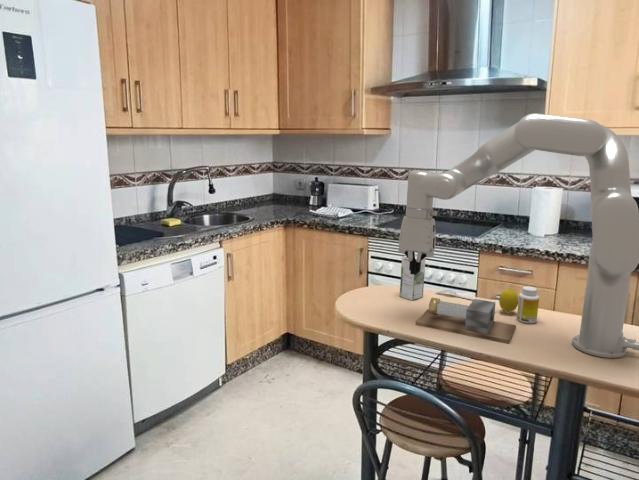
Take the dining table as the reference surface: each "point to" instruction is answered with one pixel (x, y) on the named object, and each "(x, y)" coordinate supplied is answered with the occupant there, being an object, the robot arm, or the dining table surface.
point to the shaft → (447, 308)
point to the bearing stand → (471, 322)
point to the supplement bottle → (528, 305)
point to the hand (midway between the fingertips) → (414, 273)
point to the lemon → (508, 300)
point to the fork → (454, 294)
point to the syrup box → (411, 280)
